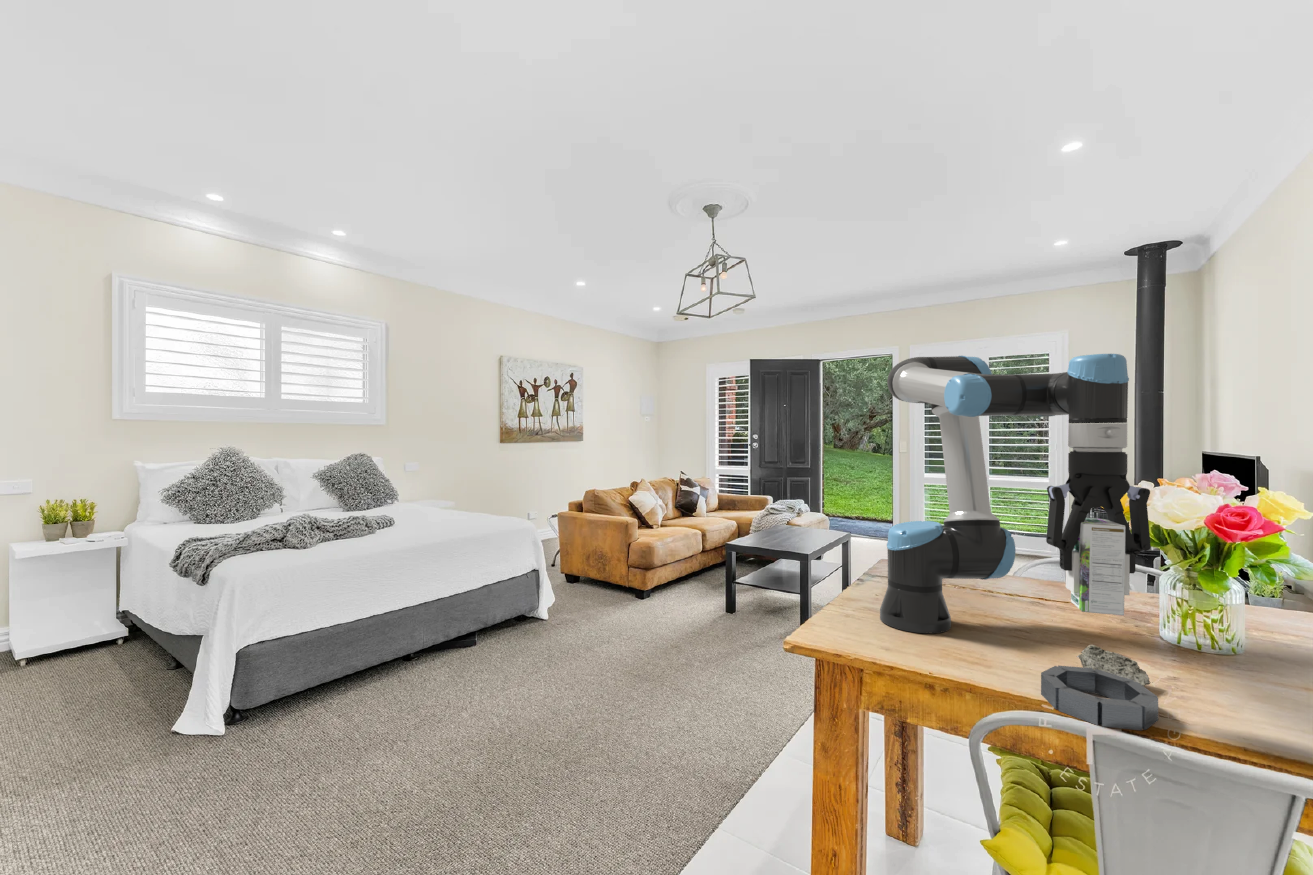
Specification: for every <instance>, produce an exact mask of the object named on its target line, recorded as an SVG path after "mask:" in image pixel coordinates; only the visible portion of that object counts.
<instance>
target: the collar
mask: <svg viewBox="0 0 1313 875" xmlns="http://www.w3.org/2000/svg"><path fill="white" fill-rule="evenodd" d="M1088 693H1090V694H1088ZM1092 694H1097V695H1099V696H1102V697H1097V696H1095V695H1092ZM1040 695H1041V696H1042V697H1043V698H1044V699H1045V700H1046V701H1047V702H1048V704H1050V705H1051V706H1052V707H1053V708H1054V709H1055V710H1058V712H1060V713H1063V714H1066V715H1068V716H1072V717H1074V718H1077V719H1079V720H1082V721H1084V722H1087V723H1090V724H1093V725H1096V726H1099V725H1100V726H1101V727H1102V728H1103V727H1105V728H1113V729H1122V730H1123V729H1124V730H1132V731H1133V730H1134V731H1143V730H1144V731H1146V730H1148V729H1149V728H1150V727H1152V726H1153V725H1154V724H1156V723H1157V722H1158V721H1159V696H1157V694H1155V693H1154V692H1152V691H1150V690H1149V689H1148V688H1146V687H1145V686H1142V685H1141V684H1139V683H1138V682H1134V680H1131V679H1128V678H1124V677H1121V676H1118V675H1114V674H1111V673H1108V672H1104V671H1101V670H1098V669H1095V670H1094V669H1092V668H1084V667H1083V666H1082V667H1081V666H1069V665H1054V666H1052V667H1049V668H1048V669H1045V670H1044V671H1042V672H1041V673H1040Z"/></svg>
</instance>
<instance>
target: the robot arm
mask: <svg viewBox="0 0 1313 875" xmlns="http://www.w3.org/2000/svg"><path fill="white" fill-rule="evenodd" d="M1127 362H1128V360H1127V357H1126V356H1124V355H1122V354H1120V353H1096V354H1094V353H1093V354H1086V355H1078V356H1074V357H1072V358H1071V359H1070V360H1069V362H1068V367H1067V371H1066V372H1057V373H1055V372H1054V373H1022V374H1021V373H1018V374H1017V373H1013V374H1012V373H1009V374H996V373H995V374H992V371H991V368H990V367H989V365H988V364H987V362H986V361H985V360H983V359H981V358H980V357H978V356H966V355H958V356H957V355H955V356H954V355H953V356H952V355H951V356H917V357H910V358H906V359H905V360H901V362H898V363H897V364H896V365H895V366H893V367H892V368H891V370H890V371H889V374H888V376H887V381H886V382H887V384H886V386H887V389H888V391H889V392H890V394H891V395H892V396H893V397H894V398H895V399H896V400H899V401H901V402H905V403H910V404H911V403H912V404H930V407H931V413H932V414H933V415H935V417H938V419H939V426H940V435H941V436H940V437H941V445H942V455H943V462H944V463H943V464H944V472H945V483H946V492H947V500H948V509H949V510H948V511H949V514H948V515H947V516H946V517H945V519H944V520H943V525H942V523H941V522H937V521H933V520H923V521H922V520H913V521H906V522H905V521H904V522H900V523H899V522H898V523H896V524H895V525H893V526H891V527H890V528H889V530H888V532H887V543H886V547H887V548H886V549H887V588H886V591H885V594H884V597H883V599H882V602H881V605H880V606H879V608H880V609H879V619H880V621H881V622H882V623H884V624H885V625H887V626H889V627H892V628H894V629H897V630H901V631H905V632H911V633H918V634H941V633H945V632H948V631H949V630H950V629H951V628H952V617H951V615H950V611H949V608H948V605H947V603H946V600H945V597H944V593H943V579H947V580H949V579H951V580H952V579H953V580H959V579H960V580H968V579H969V580H981V581H982V580H991V579H992V580H993V579H1000V578H1004V577H1005V576H1007V575H1008V574H1009V573H1010V571H1011V569H1012V568H1013V566H1014V563H1015V560H1016V544H1015V538H1014V537H1012V533H1011V532H1010V531H1009V530H1008V529H1006V528H1005V527H1001V520H1000V518H999V517H997V516H996V515H995V514H993V513H992V510H991V501H990V494H989V485H988V480H987V479H988V478H987V470H986V469H987V468H986V461H985V455H984V454H985V453H984V444H983V440H982V439H983V438H982V431H981V430H982V429H981V422H980V417H987V416H988V417H990V416H991V417H992V416H995V417H996V416H998V417H999V416H1008V417H1009V416H1018V417H1019V416H1022V417H1023V416H1027V417H1028V416H1033V417H1034V416H1038V417H1056V416H1066V415H1068V437H1067V438H1068V439H1067V441H1068V442H1067V443H1068V444H1067V445H1068V446H1067V447H1069V448H1070V449H1072V451H1071V450H1070V451H1069V452H1068V454H1067V455H1068V459H1067V460H1068V464H1067V466H1068V467H1067V470H1068V478H1067V480H1066V482H1065V484H1061V485H1056V486H1053V485H1049V486H1047V488H1046V491H1047V495H1048V498H1049V506H1048V507H1049V508H1048V515H1047V516H1048V517H1047V528H1046V539H1045V540H1046V541H1045V542H1046V543H1047V544H1048V545H1050V546H1052V547H1055V548H1058V549H1059V567H1060V569H1061V570H1063V571H1065V588H1066V589H1067V590H1069V591H1070V592H1071V591H1072V592H1075V593H1079V552H1076V551H1074V547H1075V545H1076V542H1077V539H1078V537H1079V534H1080V527H1081V523H1082V522H1084V521H1085V519H1086V518H1087V515H1088V514H1090V513H1091V510H1092V509H1096V508H1099V507H1101V508H1103V510H1104V512H1105V513H1106V515H1107V517H1108V520H1109V521H1112V522H1115V523H1118V524H1121V525H1125V592H1124V596H1130V584H1131V583H1130V581H1131V580H1130V574H1134V573H1135V572H1136V556H1138V555H1140V554H1141V552H1142V551H1150V550H1151V548H1152V546H1151V536H1150V535H1151V534H1150V524H1149V513H1148V512H1149V511H1148V501H1149V498H1150V494H1151V490H1150V489H1149V488H1146V487H1139V486H1133V485H1130V483H1129V480H1128V478H1127V474H1128V453H1126V452H1125V451H1123V449H1126V448H1127V447H1128V404H1129V402H1128V401H1129V400H1128V398H1129V394H1128V393H1129V382H1130V378H1129V375H1128V364H1127ZM1068 493H1070V495H1071V496H1072V497H1073V500H1072V503H1071V509H1070V510H1071V511H1070V513H1069V516H1068V518H1067V521H1066V523H1065V525H1064V521H1065V519H1064V518H1065V507H1066V500H1065V499H1066V498H1067V496H1068ZM1125 495H1126V496H1127V498H1128V499H1129V500H1128V508H1129V509H1128V510H1129V518H1130V526H1129V523H1128V521H1127V519H1126V517H1125V516H1126V515H1125V513H1124V512H1125V509H1124V507H1123V504H1122V501H1121V500H1122V499H1123V497H1124V496H1125ZM1130 528H1131V529H1130Z"/></svg>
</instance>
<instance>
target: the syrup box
mask: <svg viewBox="0 0 1313 875" xmlns="http://www.w3.org/2000/svg"><path fill="white" fill-rule="evenodd" d="M1074 551H1076V552H1079V593H1075V592H1072V591H1070V603H1072V604H1073V605H1074V606H1075V607H1076V608H1077V609H1078V610H1080V612H1082V613H1088V614H1099V615H1100V614H1101V615H1115V616H1125V595H1124V592H1125V525H1121V524H1118V523H1115V522H1112V521H1109V519H1105V518H1097V517H1086V519H1085V521H1084V522H1082V523H1081V527H1080V534H1079V537H1078V539H1077V542H1076V545H1075V547H1074Z"/></svg>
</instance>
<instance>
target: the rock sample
mask: <svg viewBox="0 0 1313 875" xmlns="http://www.w3.org/2000/svg"><path fill="white" fill-rule="evenodd" d="M1076 658H1078V659H1079V661H1080V662H1081V666H1082V667H1084V668H1092V669H1094V670H1095V669H1098V670H1101V671H1104V672H1108V673H1111V674H1114V675H1118V676H1121V677H1124V678H1128V679H1131V680H1134V682H1138V683H1139V684H1141V685H1142V686H1144V687H1145V686H1147V685H1148V686H1149V685H1150V684H1151V683H1154V681H1153V682H1150V677H1149V675H1148V673H1147V672H1146V670H1143V669H1142V668H1140V666H1139V665H1138V661H1136V660H1134V659H1132V658H1131V657H1127V656H1125V655H1122V654H1120V653H1118V652H1114V651H1109V650H1105V649H1103V648H1101V647H1100V646H1098V645H1095V644H1089V645H1088V646H1085V648H1084V649H1083V650H1082V651H1080V653H1079V654H1078V655H1077V656H1076ZM1149 689H1150V688H1149ZM1149 689H1148V690H1149Z"/></svg>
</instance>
